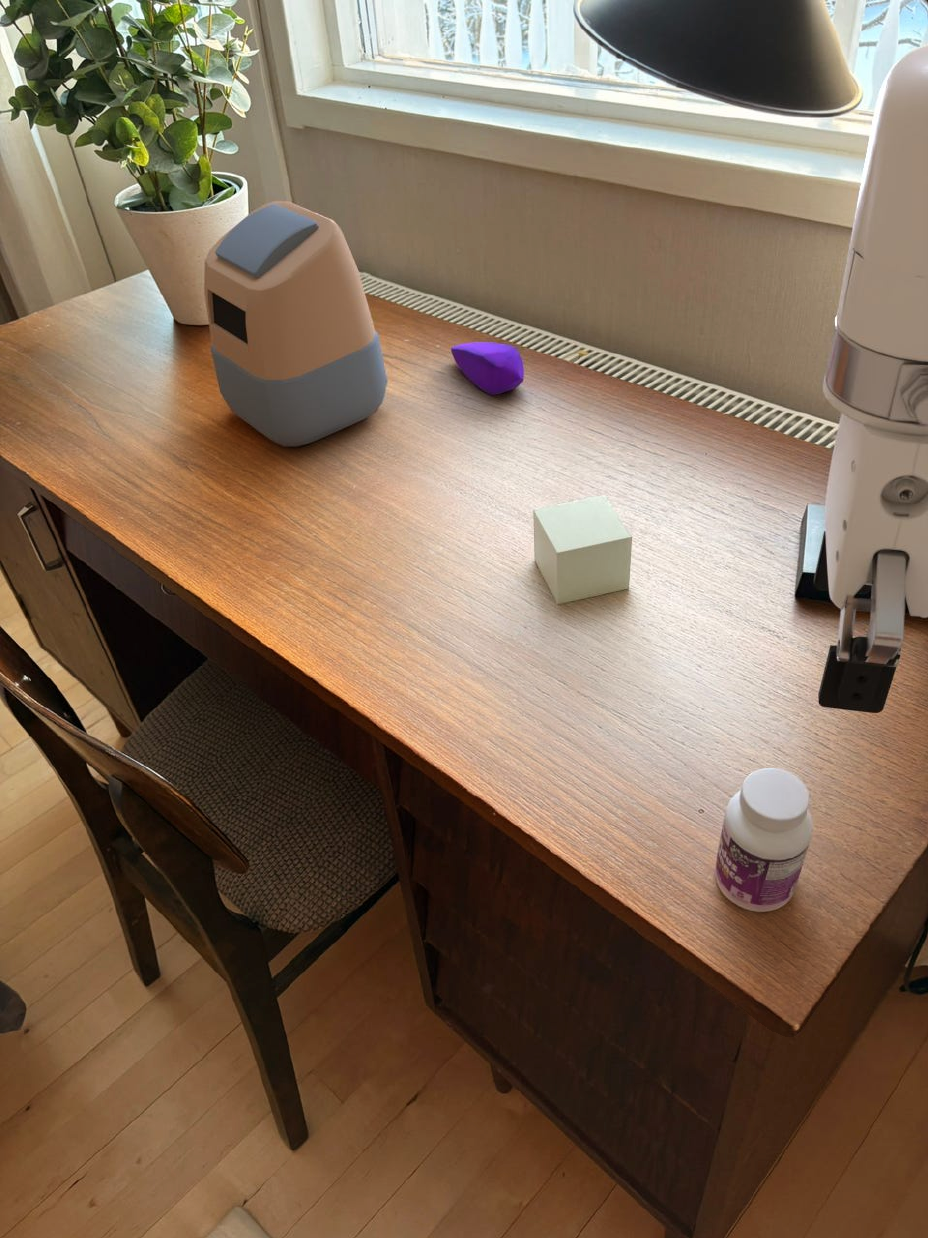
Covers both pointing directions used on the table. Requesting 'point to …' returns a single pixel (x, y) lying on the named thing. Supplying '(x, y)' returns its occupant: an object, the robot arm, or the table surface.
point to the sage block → (582, 549)
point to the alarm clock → (292, 326)
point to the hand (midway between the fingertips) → (844, 643)
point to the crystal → (490, 365)
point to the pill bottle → (764, 840)
